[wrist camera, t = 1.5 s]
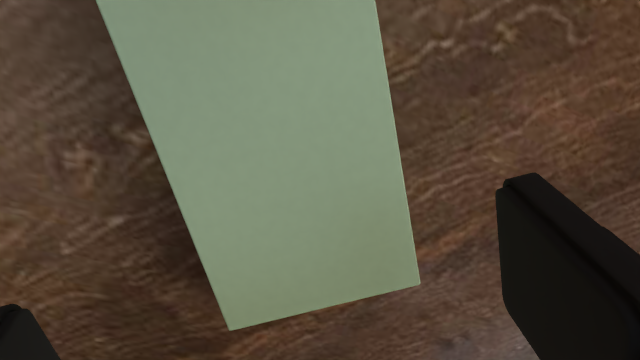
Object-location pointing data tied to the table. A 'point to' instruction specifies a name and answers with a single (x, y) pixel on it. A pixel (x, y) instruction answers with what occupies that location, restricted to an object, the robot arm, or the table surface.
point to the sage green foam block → (274, 146)
